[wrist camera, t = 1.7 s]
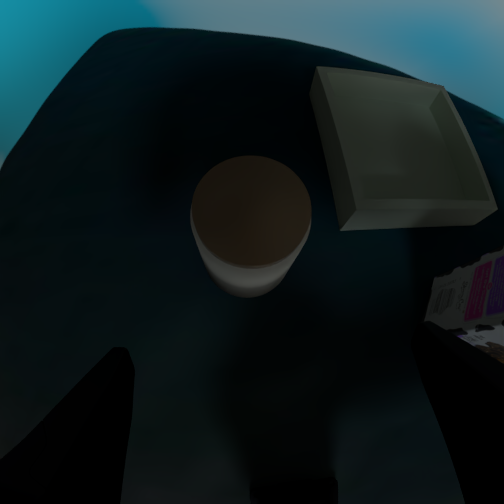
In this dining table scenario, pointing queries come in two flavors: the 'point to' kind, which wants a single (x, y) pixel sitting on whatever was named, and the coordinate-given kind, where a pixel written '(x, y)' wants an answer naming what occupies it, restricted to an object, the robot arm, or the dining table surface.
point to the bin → (396, 152)
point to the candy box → (472, 302)
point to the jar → (250, 223)
